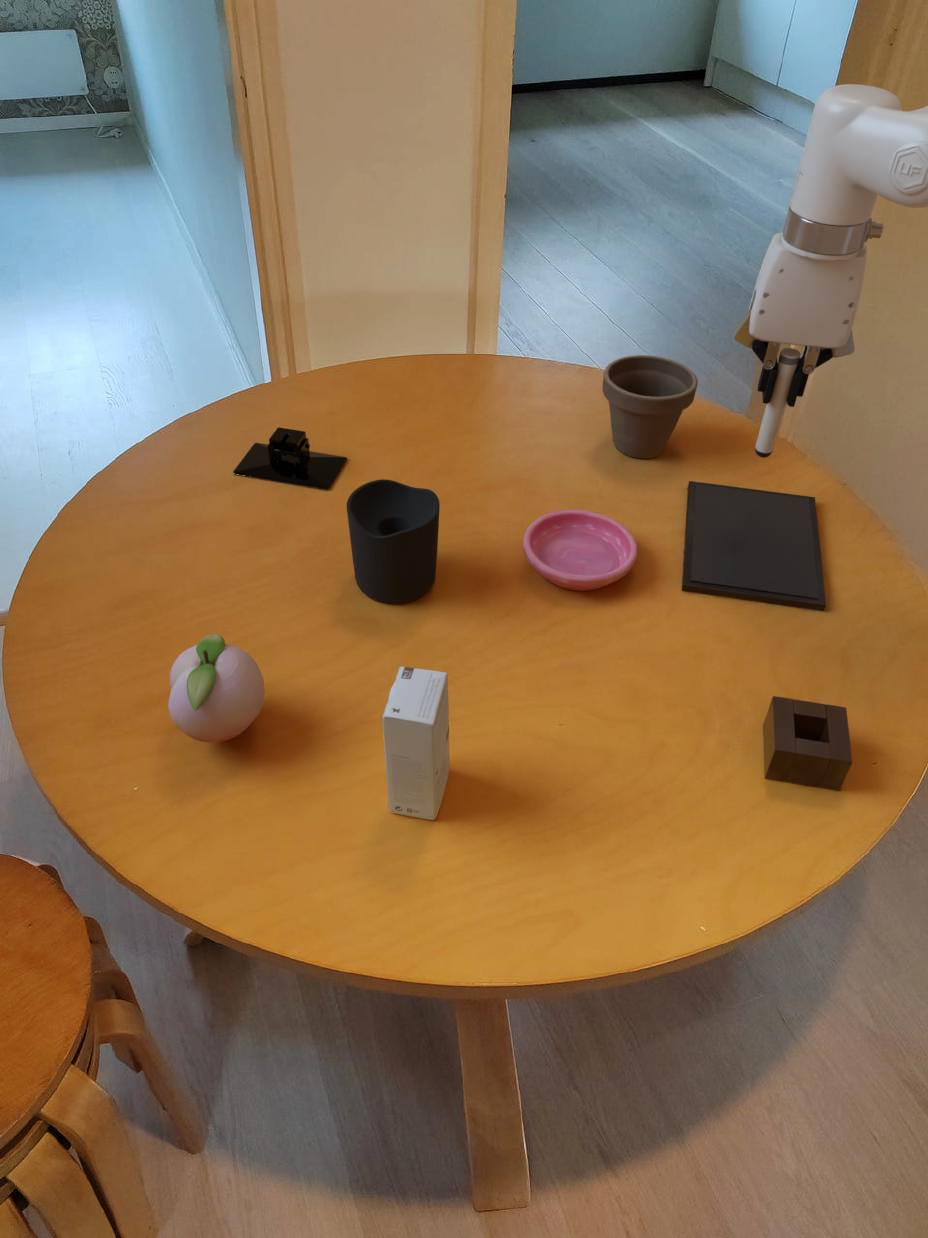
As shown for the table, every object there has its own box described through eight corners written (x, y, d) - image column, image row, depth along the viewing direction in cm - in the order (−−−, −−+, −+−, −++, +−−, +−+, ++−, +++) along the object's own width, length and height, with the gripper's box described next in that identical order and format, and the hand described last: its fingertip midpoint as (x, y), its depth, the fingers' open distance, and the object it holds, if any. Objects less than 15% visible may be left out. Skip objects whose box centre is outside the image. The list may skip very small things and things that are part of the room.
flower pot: (643, 413, 133) (655, 344, 127) (702, 452, 126) (717, 382, 120) (576, 437, 129) (584, 367, 122) (634, 479, 122) (645, 407, 115)
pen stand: (834, 736, 92) (846, 707, 89) (839, 791, 87) (852, 762, 84) (762, 724, 92) (772, 695, 90) (764, 778, 88) (774, 749, 85)
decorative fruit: (272, 762, 88) (258, 684, 81) (178, 773, 87) (156, 696, 80) (268, 686, 95) (256, 609, 88) (181, 696, 93) (161, 618, 87)
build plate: (232, 475, 121) (227, 442, 118) (256, 444, 126) (251, 412, 123) (328, 490, 119) (325, 457, 115) (348, 458, 124) (346, 426, 121)
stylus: (770, 452, 113) (800, 348, 105) (771, 462, 112) (801, 357, 103) (752, 450, 114) (780, 346, 105) (752, 459, 112) (781, 355, 103)
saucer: (587, 517, 116) (590, 495, 113) (657, 576, 108) (661, 553, 106) (499, 552, 111) (501, 529, 108) (566, 616, 103) (569, 593, 101)
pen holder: (416, 543, 111) (414, 469, 105) (454, 592, 105) (455, 516, 99) (338, 566, 108) (332, 491, 101) (373, 618, 102) (369, 542, 95)
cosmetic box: (436, 822, 83) (437, 727, 75) (385, 813, 84) (380, 718, 76) (451, 766, 88) (453, 671, 80) (402, 758, 88) (398, 663, 80)
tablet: (813, 502, 119) (815, 496, 118) (824, 611, 104) (827, 604, 104) (687, 486, 121) (689, 479, 120) (681, 590, 106) (683, 583, 106)
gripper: (904, 224, 97) (849, 391, 109) (740, 208, 99) (705, 373, 112) (914, 254, 92) (855, 426, 104) (741, 236, 94) (703, 407, 106)
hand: (778, 397), depth 108 cm, fingers closed on stylus, 2 cm apart
